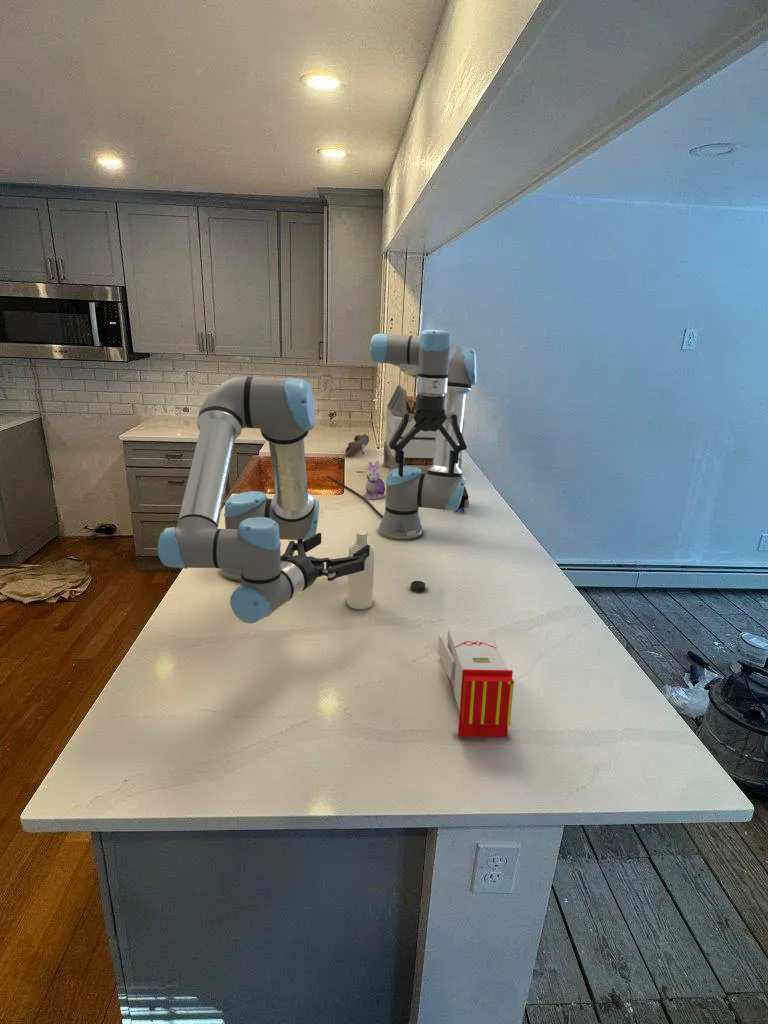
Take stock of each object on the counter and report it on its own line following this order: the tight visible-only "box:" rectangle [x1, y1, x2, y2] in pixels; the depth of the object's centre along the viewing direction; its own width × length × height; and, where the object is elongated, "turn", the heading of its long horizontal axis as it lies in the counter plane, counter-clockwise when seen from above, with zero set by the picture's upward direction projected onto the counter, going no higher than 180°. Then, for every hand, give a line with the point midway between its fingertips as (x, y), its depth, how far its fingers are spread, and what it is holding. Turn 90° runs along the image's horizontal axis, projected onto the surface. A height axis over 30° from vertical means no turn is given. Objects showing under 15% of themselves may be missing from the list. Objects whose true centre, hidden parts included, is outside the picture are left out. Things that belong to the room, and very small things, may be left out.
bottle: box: [346, 530, 375, 610], centre depth 149 cm, size 7×7×20 cm
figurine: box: [364, 460, 386, 500], centre depth 235 cm, size 9×10×15 cm
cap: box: [410, 580, 426, 593], centre depth 161 cm, size 4×4×2 cm
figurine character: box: [455, 486, 470, 513], centre depth 227 cm, size 7×8×15 cm
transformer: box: [383, 384, 465, 472], centre depth 268 cm, size 34×33×41 cm
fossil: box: [344, 433, 370, 458], centre depth 304 cm, size 22×10×15 cm
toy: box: [437, 628, 515, 738], centre depth 117 cm, size 12×13×30 cm
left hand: (343, 543), depth 137 cm, fingers open, 13 cm apart
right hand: (425, 475), depth 150 cm, fingers open, 13 cm apart
